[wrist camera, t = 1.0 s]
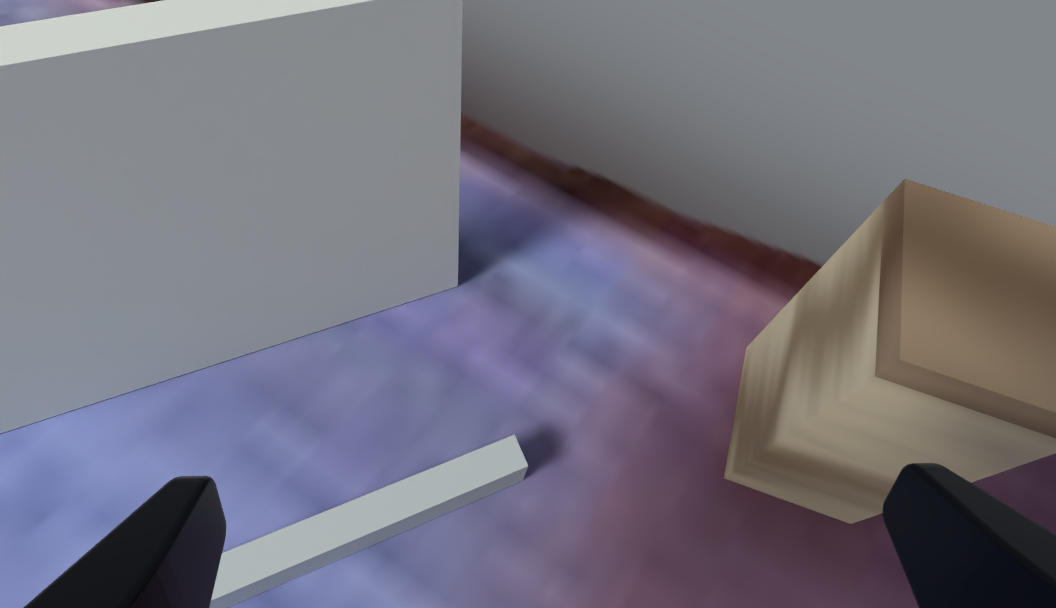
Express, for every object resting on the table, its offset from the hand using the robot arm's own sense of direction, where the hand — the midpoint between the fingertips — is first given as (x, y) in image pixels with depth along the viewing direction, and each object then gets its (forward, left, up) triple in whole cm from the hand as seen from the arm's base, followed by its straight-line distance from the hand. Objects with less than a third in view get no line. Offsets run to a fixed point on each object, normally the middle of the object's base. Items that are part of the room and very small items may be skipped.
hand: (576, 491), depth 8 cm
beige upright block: (-3, -13, -15) cm, 20 cm away
